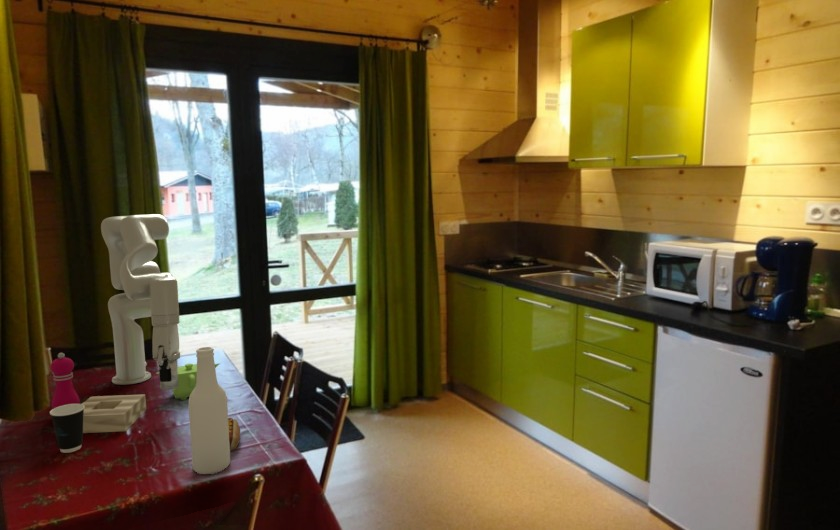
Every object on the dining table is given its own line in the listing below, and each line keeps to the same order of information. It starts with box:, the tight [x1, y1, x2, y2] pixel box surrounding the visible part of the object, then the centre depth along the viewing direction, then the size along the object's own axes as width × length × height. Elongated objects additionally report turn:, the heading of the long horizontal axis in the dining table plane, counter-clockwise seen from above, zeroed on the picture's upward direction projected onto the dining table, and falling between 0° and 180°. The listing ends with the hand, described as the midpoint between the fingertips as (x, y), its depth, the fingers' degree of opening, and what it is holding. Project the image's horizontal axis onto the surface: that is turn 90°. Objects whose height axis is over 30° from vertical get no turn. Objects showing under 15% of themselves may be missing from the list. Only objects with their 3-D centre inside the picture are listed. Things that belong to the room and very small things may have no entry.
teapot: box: [156, 362, 221, 401], centre depth 192 cm, size 15×13×11 cm
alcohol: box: [188, 346, 231, 475], centre depth 140 cm, size 9×9×30 cm
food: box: [228, 417, 241, 452], centre depth 156 cm, size 14×6×5 cm, turn 17°
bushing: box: [154, 350, 181, 391], centre depth 172 cm, size 7×7×10 cm
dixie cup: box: [49, 403, 85, 454], centre depth 152 cm, size 8×8×11 cm
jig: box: [81, 393, 147, 434], centre depth 170 cm, size 16×16×5 cm
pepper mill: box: [50, 352, 81, 409], centre depth 173 cm, size 7×7×20 cm
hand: (169, 377), depth 172 cm, fingers closed on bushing, 5 cm apart
